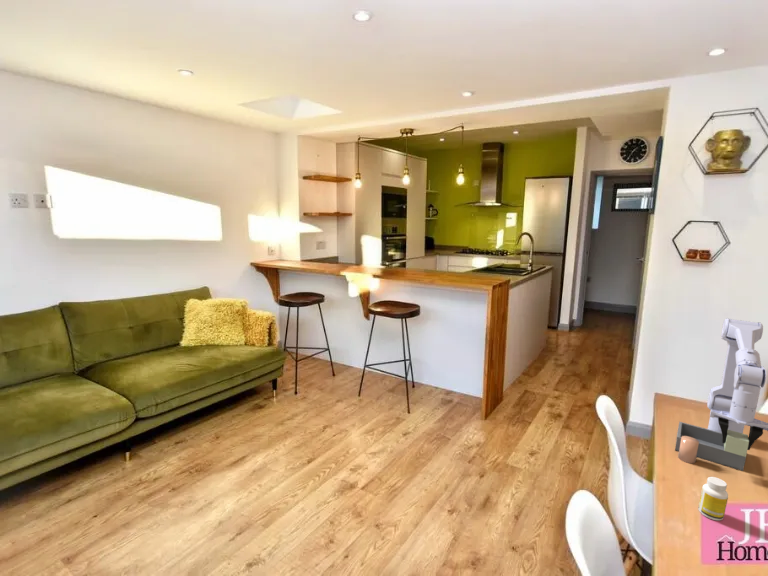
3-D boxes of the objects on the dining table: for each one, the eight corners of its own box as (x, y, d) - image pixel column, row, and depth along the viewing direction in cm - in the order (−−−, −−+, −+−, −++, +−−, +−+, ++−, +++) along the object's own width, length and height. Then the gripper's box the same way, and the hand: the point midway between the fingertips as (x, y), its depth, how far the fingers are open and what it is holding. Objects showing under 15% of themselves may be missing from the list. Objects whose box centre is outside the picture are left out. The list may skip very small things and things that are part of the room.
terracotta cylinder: (688, 455, 137) (691, 436, 136) (698, 463, 132) (702, 443, 131) (674, 454, 137) (678, 435, 135) (684, 463, 132) (688, 443, 131)
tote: (740, 452, 140) (743, 438, 139) (743, 471, 129) (746, 456, 128) (677, 434, 150) (679, 421, 149) (675, 450, 139) (677, 436, 138)
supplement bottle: (728, 523, 107) (735, 489, 105) (704, 519, 108) (711, 486, 106) (716, 508, 112) (722, 476, 110) (693, 505, 113) (699, 473, 111)
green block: (744, 449, 127) (747, 434, 126) (745, 457, 123) (749, 441, 122) (723, 443, 130) (726, 429, 129) (724, 450, 126) (727, 435, 125)
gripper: (713, 401, 125) (705, 442, 128) (778, 416, 116) (768, 460, 119) (713, 393, 130) (705, 432, 133) (775, 407, 122) (766, 449, 124)
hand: (735, 445), depth 126 cm, fingers closed on green block, 5 cm apart
